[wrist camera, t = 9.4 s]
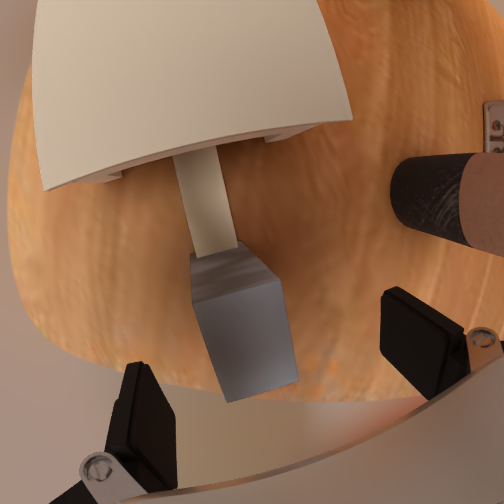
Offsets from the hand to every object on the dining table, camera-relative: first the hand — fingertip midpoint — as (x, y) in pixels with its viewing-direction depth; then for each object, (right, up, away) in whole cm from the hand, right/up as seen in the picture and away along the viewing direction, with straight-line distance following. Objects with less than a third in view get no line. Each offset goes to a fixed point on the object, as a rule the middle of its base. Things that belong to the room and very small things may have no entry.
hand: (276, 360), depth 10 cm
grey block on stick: (-5, +9, +11) cm, 15 cm away
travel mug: (+15, +10, +15) cm, 24 cm away
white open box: (-6, +17, +8) cm, 20 cm away
